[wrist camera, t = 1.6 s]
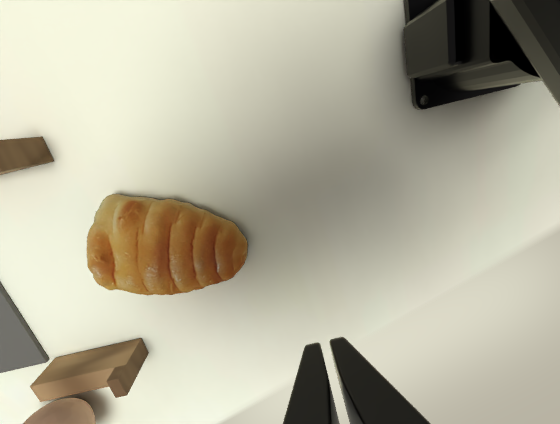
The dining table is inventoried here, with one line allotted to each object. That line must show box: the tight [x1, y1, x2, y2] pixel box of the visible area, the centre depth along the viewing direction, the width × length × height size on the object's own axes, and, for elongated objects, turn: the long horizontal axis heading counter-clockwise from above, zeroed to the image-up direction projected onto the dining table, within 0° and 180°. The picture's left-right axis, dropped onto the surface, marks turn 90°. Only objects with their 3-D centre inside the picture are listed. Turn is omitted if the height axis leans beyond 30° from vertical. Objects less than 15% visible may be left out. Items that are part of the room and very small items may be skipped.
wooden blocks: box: [0, 137, 148, 402], centre depth 18 cm, size 7×17×4 cm, turn 13°
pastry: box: [87, 194, 248, 295], centre depth 18 cm, size 9×7×4 cm
